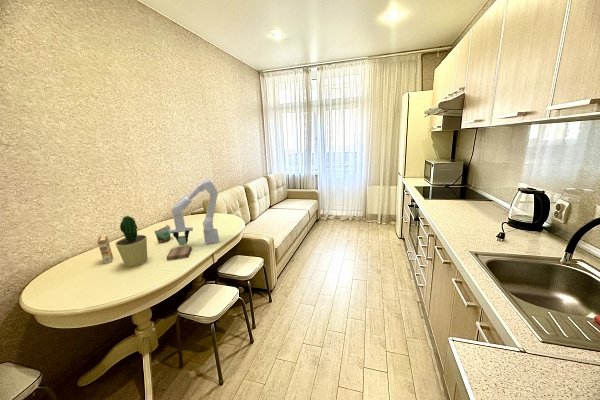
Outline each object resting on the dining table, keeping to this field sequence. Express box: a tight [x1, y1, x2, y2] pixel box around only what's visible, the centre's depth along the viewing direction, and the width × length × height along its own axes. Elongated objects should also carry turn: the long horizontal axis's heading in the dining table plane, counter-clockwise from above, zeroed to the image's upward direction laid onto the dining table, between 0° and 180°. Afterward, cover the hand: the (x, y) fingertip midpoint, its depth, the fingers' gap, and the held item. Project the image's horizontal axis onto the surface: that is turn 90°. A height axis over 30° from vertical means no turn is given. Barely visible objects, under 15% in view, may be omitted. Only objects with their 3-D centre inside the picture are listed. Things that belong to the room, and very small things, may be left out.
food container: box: [154, 224, 172, 244], centre depth 175 cm, size 12×6×10 cm, turn 168°
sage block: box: [177, 235, 188, 247], centre depth 162 cm, size 4×4×5 cm
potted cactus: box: [114, 215, 148, 268], centre depth 141 cm, size 15×15×30 cm
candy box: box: [97, 234, 114, 265], centre depth 147 cm, size 9×4×15 cm, turn 35°
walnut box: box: [166, 245, 192, 261], centre depth 152 cm, size 12×12×3 cm
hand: (183, 241), depth 163 cm, fingers closed on sage block, 4 cm apart
